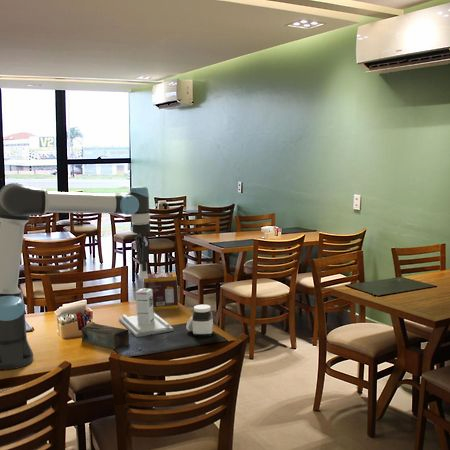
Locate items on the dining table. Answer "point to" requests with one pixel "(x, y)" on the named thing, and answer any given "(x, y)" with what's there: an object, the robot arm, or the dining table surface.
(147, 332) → the panel
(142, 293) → the syrup box
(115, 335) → the dark grey rectangular block
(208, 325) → the spread jar
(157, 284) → the supplement box
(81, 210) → the robot arm
